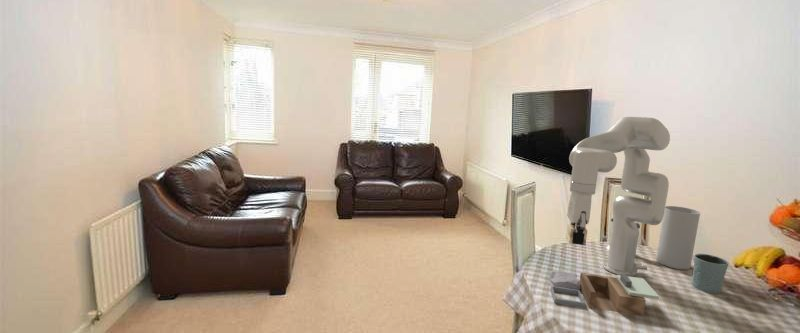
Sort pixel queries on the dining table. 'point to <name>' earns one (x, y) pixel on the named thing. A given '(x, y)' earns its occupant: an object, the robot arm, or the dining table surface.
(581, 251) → the dining table surface
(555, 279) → the stone block
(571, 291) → the gray tray
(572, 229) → the birch block
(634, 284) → the sliding lid
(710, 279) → the teal plant pot
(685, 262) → the cylinder vase
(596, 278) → the brown open box
